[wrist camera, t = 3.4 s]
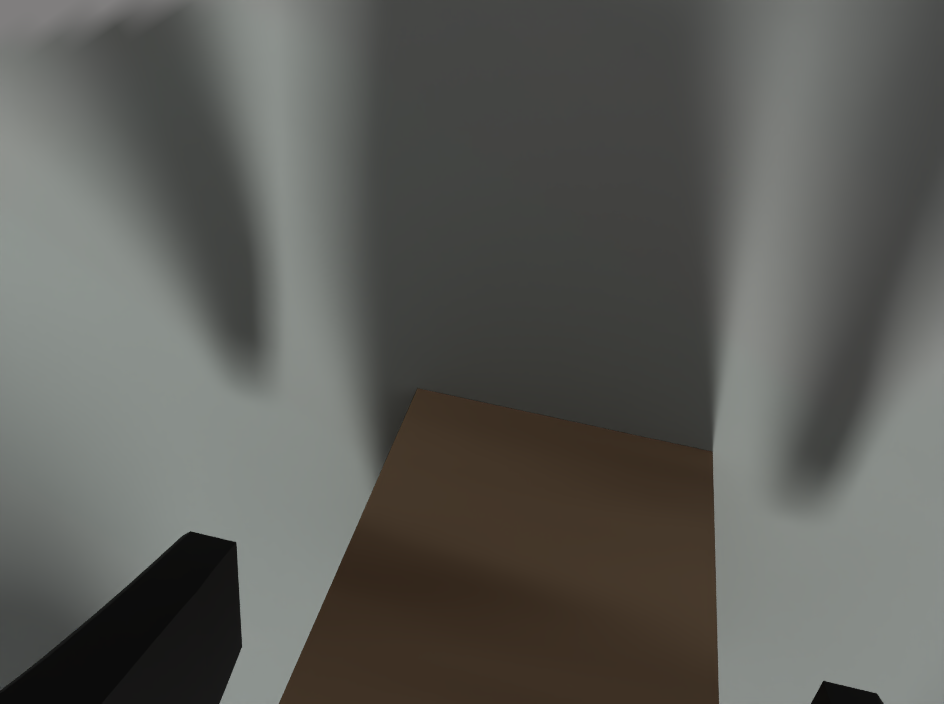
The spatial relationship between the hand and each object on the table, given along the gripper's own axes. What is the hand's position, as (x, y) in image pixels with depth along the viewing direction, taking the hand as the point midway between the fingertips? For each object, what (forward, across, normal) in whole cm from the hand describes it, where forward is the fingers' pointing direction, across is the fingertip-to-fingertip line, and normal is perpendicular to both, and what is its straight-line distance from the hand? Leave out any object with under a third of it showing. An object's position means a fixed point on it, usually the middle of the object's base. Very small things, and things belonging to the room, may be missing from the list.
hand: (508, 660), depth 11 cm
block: (+2, 0, 0) cm, 3 cm away
